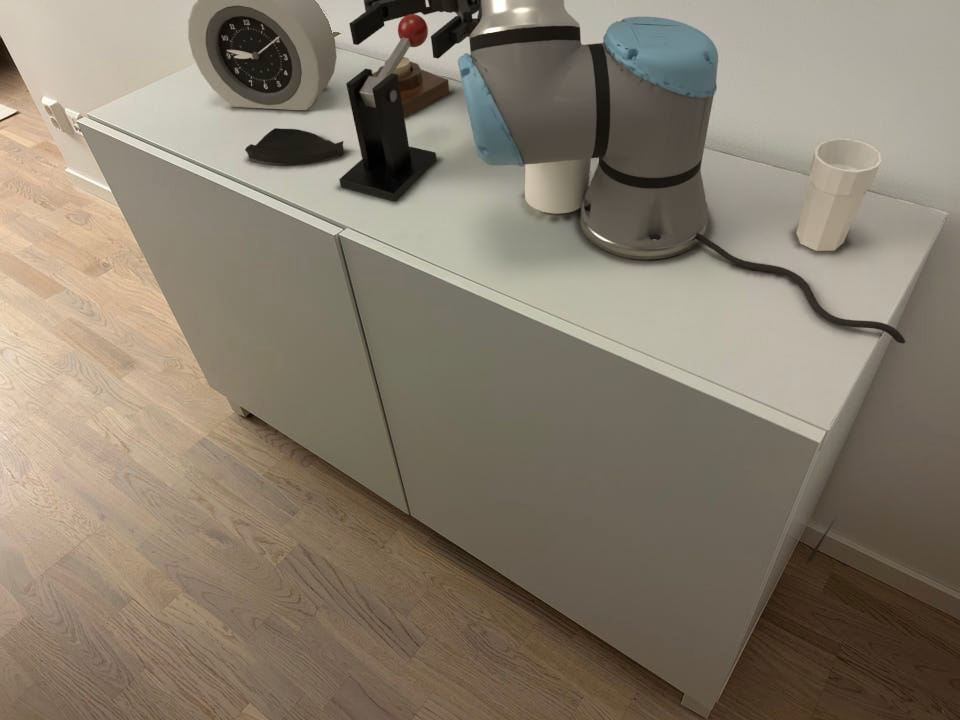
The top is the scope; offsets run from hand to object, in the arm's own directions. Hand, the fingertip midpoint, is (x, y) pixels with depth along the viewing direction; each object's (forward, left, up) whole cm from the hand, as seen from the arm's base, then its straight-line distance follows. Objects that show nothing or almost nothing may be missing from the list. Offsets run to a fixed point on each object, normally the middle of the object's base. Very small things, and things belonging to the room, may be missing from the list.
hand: (392, 40), depth 92 cm
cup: (-54, -17, -16) cm, 58 cm away
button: (+14, -12, -13) cm, 22 cm away
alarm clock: (+31, +2, -16) cm, 35 cm away
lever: (0, 0, -4) cm, 4 cm away
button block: (+14, -12, -16) cm, 25 cm away
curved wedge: (+14, +10, -16) cm, 24 cm away
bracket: (-2, +5, -16) cm, 17 cm away
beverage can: (-24, -4, -16) cm, 29 cm away
